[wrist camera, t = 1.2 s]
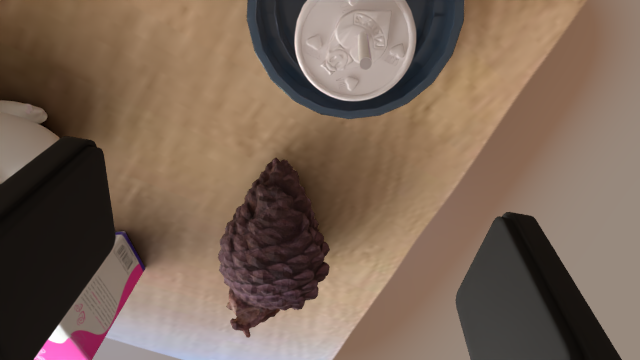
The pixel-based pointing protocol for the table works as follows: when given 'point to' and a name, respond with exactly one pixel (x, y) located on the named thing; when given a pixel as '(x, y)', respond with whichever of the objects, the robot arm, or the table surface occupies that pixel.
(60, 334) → the supplement box
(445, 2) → the dish
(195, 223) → the table surface
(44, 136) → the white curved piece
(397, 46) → the smoothie
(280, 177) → the pine cone
